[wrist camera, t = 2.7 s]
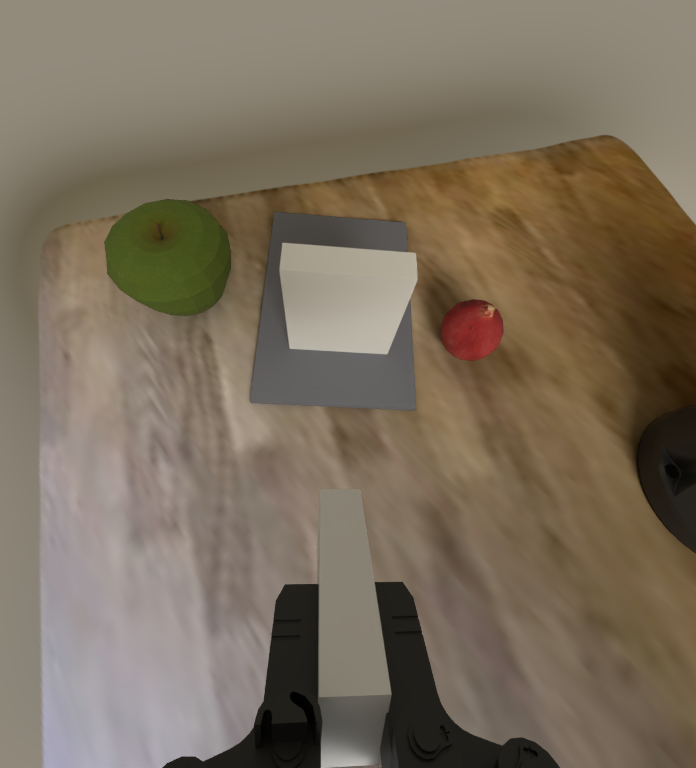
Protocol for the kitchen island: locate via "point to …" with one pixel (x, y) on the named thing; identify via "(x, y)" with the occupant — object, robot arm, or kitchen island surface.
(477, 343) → the red pomegranate
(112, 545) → the kitchen island surface
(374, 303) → the tile
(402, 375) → the mat
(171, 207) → the apple
